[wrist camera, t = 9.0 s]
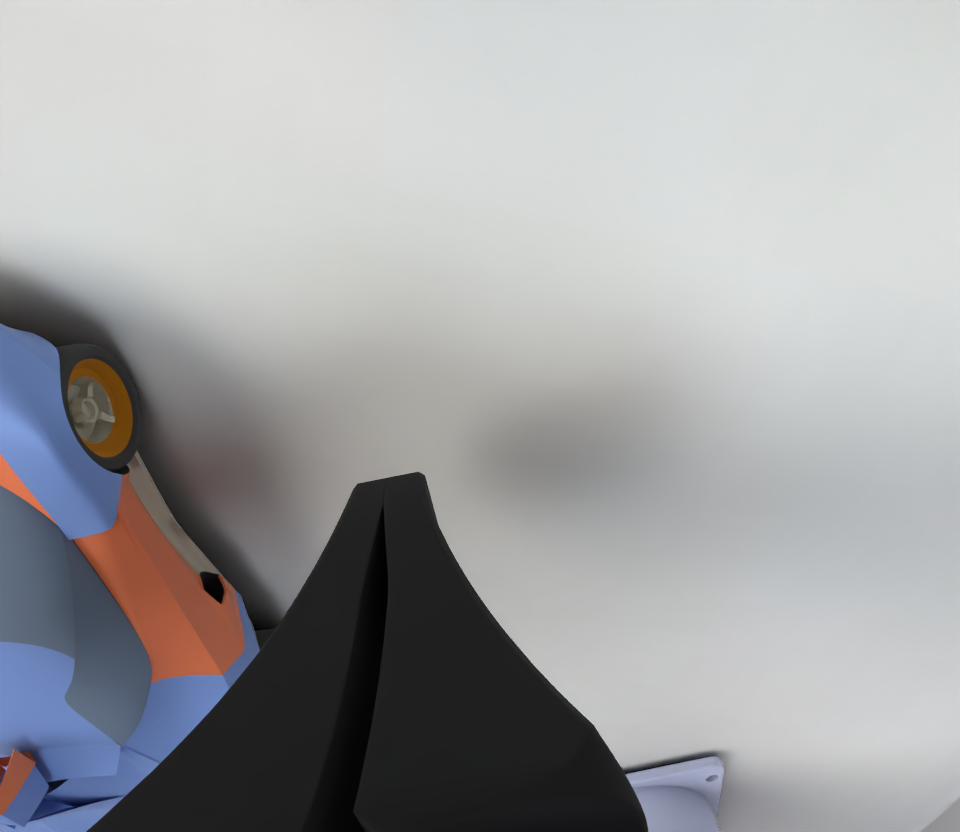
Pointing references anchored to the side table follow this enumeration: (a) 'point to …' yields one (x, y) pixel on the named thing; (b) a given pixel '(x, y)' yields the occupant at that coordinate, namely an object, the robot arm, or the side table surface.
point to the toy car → (95, 595)
